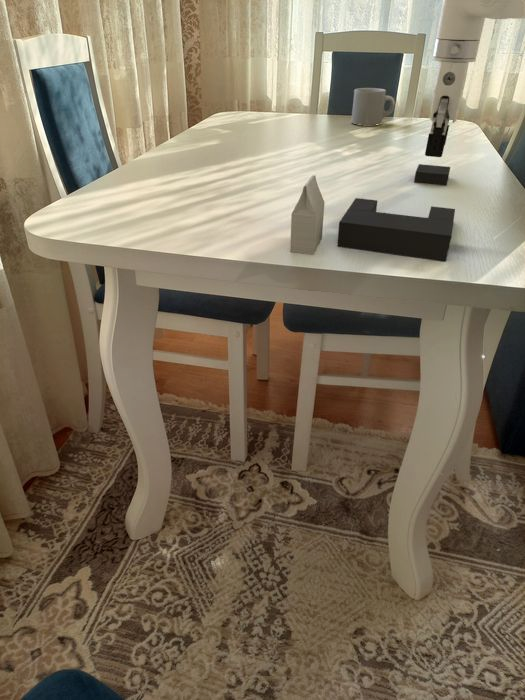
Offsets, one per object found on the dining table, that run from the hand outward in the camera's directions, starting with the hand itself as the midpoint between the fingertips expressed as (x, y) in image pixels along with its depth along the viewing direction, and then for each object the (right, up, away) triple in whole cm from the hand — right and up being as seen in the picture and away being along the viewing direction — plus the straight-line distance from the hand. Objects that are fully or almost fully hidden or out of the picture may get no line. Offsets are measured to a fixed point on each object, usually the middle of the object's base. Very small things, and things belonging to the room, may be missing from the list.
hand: (435, 150), depth 99 cm
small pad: (0, -6, +4) cm, 8 cm away
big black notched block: (-13, -22, -18) cm, 31 cm away
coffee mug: (+2, +35, +64) cm, 73 cm away
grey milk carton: (-28, -24, -21) cm, 42 cm away
